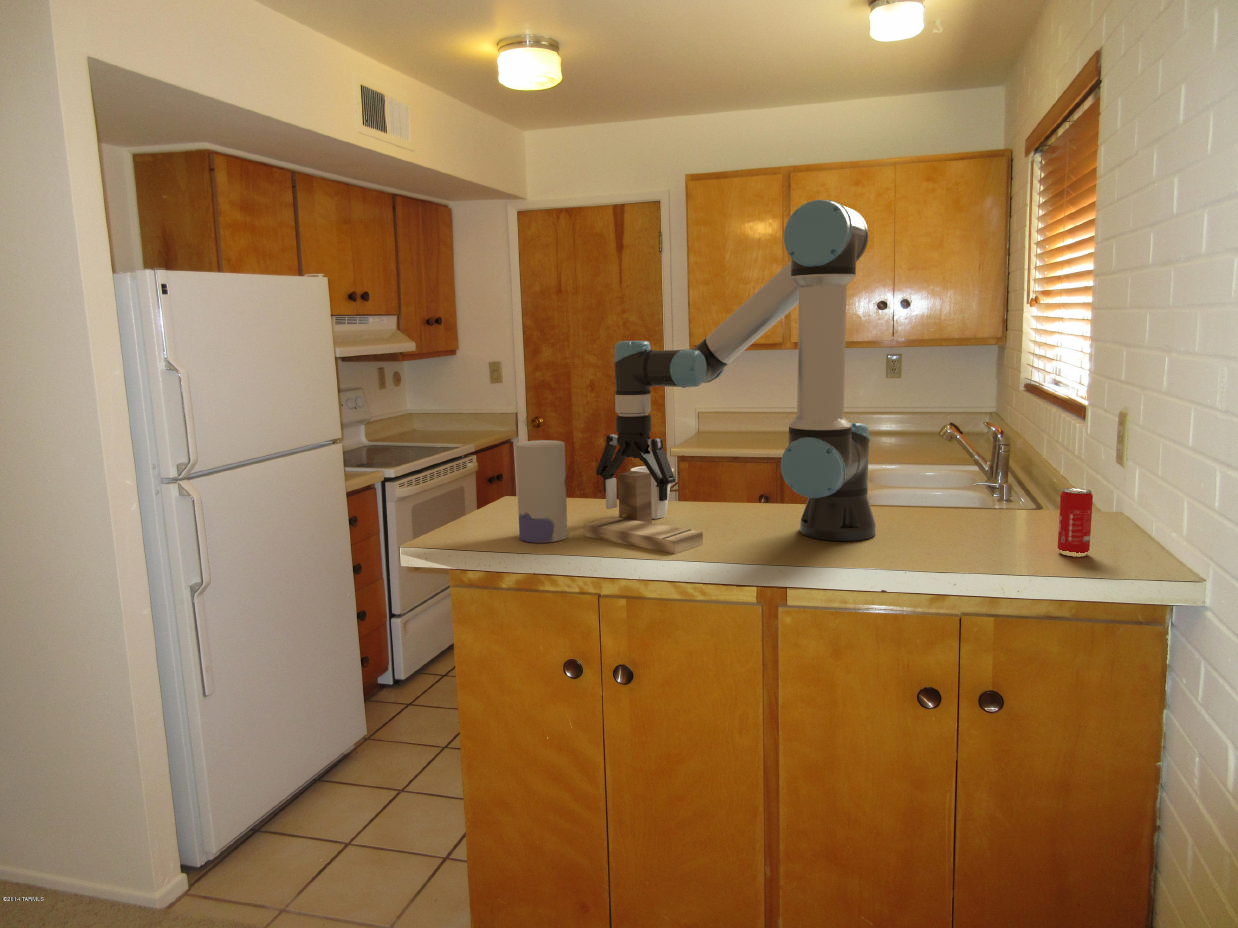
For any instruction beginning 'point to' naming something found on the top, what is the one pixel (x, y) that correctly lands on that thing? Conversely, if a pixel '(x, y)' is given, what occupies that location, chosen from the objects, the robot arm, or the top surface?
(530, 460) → the container
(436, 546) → the top surface
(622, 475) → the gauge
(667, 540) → the plank
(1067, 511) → the beverage can
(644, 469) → the cup
